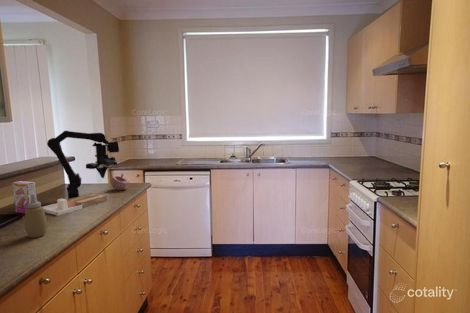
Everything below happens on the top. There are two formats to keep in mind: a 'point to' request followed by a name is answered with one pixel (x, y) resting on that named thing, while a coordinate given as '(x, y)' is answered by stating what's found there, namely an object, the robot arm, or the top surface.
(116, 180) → the mortar and pestle
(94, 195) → the thick wooden platform
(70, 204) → the tile terracotta
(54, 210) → the tray
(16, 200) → the candy bar box
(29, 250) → the top surface
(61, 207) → the tile cream
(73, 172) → the robot arm
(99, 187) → the top surface
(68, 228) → the top surface
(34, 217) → the squeeze bottle
